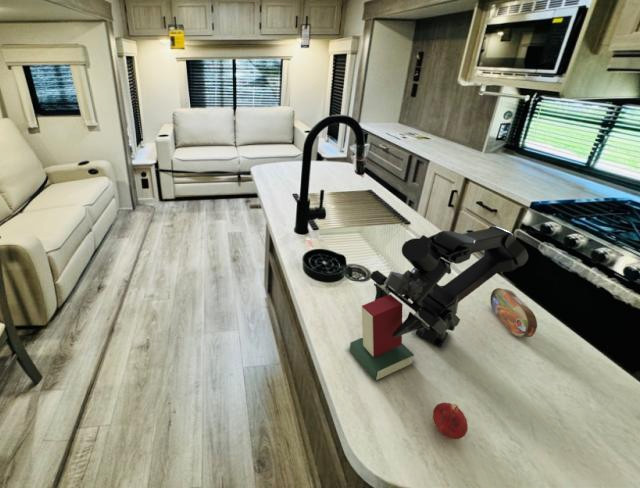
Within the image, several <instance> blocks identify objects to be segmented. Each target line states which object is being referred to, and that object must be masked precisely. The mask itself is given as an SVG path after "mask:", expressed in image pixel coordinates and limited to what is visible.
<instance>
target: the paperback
mask: <svg viewBox="0 0 640 488" xmlns="http://www.w3.org/2000/svg"><path fill="white" fill-rule="evenodd" d="M403 307H404V306H403V302H402V301H401V300H399V299H398V298H397V297H394V295H393V294H392V293H390V294H389V295H387V296H384V297H382V298H379V299H377V300H375V299H374V300H372V301H370V302H367V303H365V304H362V305H361V320H362V321H361V322H362V323H361V324H362V338H363V346H364V347H365V348H366V349H367V351H368V352H369V353H370V354H371V355H372V356H373V357H374V358H375V357H377V356H379V355H381V354H383V353H385V352H388V351H390V350H392V349H394V348H396V347H398V346H400V345H402V344H403V335H401V336H398V337H396V338H394V337H393V336H392V335H393V333H394V332H395V330H396V329H397V328H398V327H399V326H400V325H401V324H402V323H403Z"/></svg>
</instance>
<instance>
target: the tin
mask: <svg viewBox="0 0 640 488" xmlns="http://www.w3.org/2000/svg"><path fill="white" fill-rule="evenodd" d="M489 301H490V308H491V309H492V312H493V313H494V314H495V316H496V317H497V318H498V320H500V321H501V322H502V324H503V325H504V326H505V328H506V329H507V331H509V332H510V334H512V335H513V336H514V337H518V338H519V337H522V338H531V337H533V336H534V335H535V333H536V331H537V329H538V321H537V320H538V319H537V317H536V316H535V313H534V311H533V310H532V309H531V308H530V307H529V306H528V305H527V304H526V303H525V302H523V300H522V299H521V298H519V296H518V295H517V294H516V293H515V292H513V290H510V289H506V288H500V287H497V288H494V289H493V291H492V292H491V293H490V300H489Z"/></svg>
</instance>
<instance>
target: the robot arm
mask: <svg viewBox="0 0 640 488" xmlns="http://www.w3.org/2000/svg"><path fill="white" fill-rule="evenodd" d="M478 252H479V253H480V252H483V255H482V256H481V258H479V259H478V260H476V261H475V262H474V263H472V264H471V265H470V266H469V267H467V268H466V269H464V270H463V271H462V272H460V273H459V274H458V275H456V276H455V277H454V278H452V279H451V280H449V281H448V282H447V283H446V284H444V285H439V284H438V283H439V282H440V281H441V280H442V278H444V276H445V275H446V274H448V275H450V274H451V273H452V267H451V264H455V265H457V264H461V263H464V262H466V261H468V260H470V259H471V256H472V254H474V253H478ZM401 254H402V256H403V257H404V258H405V259H406V260H407V262H408V263H410V265H411V266H412V267H413V268H412V269H411V270H409V269H407V270H406V271H404V273H400V272H397V271H390V272H389V274H388V276H386V275H385V274H383V273H382V272H380V271H379V270H374V271H372V272H371V273H370V274H369V275H368V277H369V278H370V279H371V280H372V281H373V282H374V283H373V286H374V287H375V297H374V298H375V299H374V301H375V300H377V299H379V298H382V297H384V296H387V295H389V294H391V295H393V296H395V298H396V299H398V300H399V301H400V302H402V303H404V304H405V305H406V306H407V307H409V309H411V310H413V311H414V313H413V312H411V311H409V312H408V315H407V316H406V319H405V320H404V321H402V324H401V325H400V326H399V327H398V328H397V329H396V330H395V332H394V333H393V335H392V336H393V337H394V338H396V337H398V336H401V335H402V336H404V335H405V334H409V333H411V332H414V331H415V333H414V334H415V335H416V337H419V338H421V339H423V340H425V341H426V342H429V343H430V344H433V345H434V346H436V347H438V348H443V346H444V343H445V342H446V340H447V339H448V336H449V333H448V332H447V331H450V332H451V331H452V332H453V331H455V328H456V327H458V325H459V323H460V321H461V318H460V317H459V316H458V315H457V313H458V307H459V303H460V302H461V301H463V300H464V299H466V297H468V296H469V295H470V294H471V293H473V292H475V291H476V290H477V289H478V288H480V287H481V286H482V285H483V284H485V283H486V282H487V281H489V280H490V279H491V278H493V277H494V276H495V275H497V274H498V273H506V272H507V273H508V272H509V273H510V272H513V271H515V270H517V269H518V268H519V267H523V266H524V265H525V264H526V263H527V262H528V260H529V254H528V251H527V249H526V247H525V246H524V245H523V244H521V242H520V241H518V239H516V236H515V234H513V233H512V232H511V231H508V230H505V229H503V228H501V227H499V226H494V225H491V226H489V227H488V228H483V229H480V230H475V231H469V232H465V233H461V232H455V231H451V230H441V231H439V232H437V233H435V234H433V235H430V236H426V235H425V234H422V235H421V236H420V237H419V238H418V237H417V238H416V237H415V238H410V239H408V240H406V241H404V243H403V244H402V246H401Z"/></svg>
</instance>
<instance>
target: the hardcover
mask: <svg viewBox="0 0 640 488" xmlns="http://www.w3.org/2000/svg"><path fill="white" fill-rule="evenodd" d="M349 344H350V346H349V352H350V353H351V355H353V357H354V358H355V359H356V361H358V363H359V364H360V365H361V367H363V368H364V370H365V371H366V372H367V373H368V375H370V377H371V378H372V379H373V380H374V381H379V380H380V379H382V378H384V377H386V376H388V375H390V374H393V373H394V372H397V371H399V370H401V369H403V368H405V367H408V366H410V365H411V364H412V363H413V359H414V356H415V354H414V353H413V352H412V350H410V349H409V348H408V347H407V346H406V345H404V344H403V343H402V345H400V346H398V347H396V348H394V349H392V350H390V351H388V352H385V353H383V354H381V355H379V356H377V357H375V358H374V357H373V356H372V355H371V354H370V353H369V352H368V351H367V349H366V348H365V347H364V346H363V337H361V338H358V339H356V340H353V341H350V343H349Z"/></svg>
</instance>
